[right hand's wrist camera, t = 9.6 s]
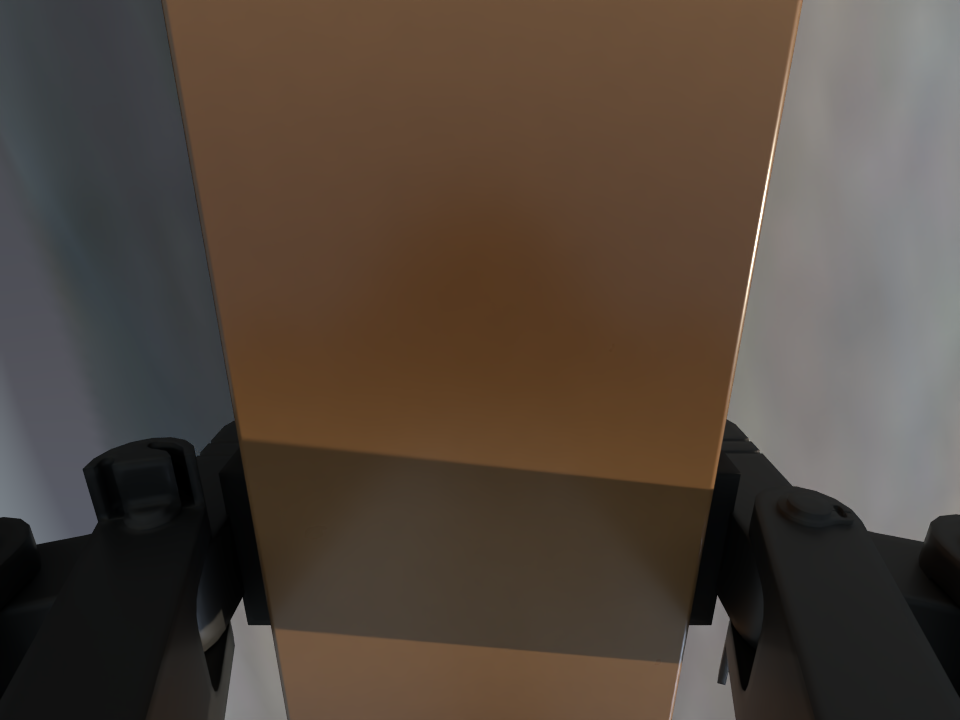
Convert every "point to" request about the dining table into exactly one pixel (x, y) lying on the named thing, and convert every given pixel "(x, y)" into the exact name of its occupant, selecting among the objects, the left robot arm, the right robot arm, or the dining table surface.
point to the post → (480, 329)
